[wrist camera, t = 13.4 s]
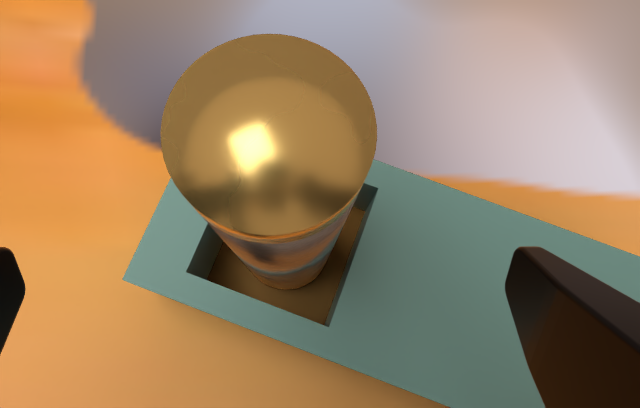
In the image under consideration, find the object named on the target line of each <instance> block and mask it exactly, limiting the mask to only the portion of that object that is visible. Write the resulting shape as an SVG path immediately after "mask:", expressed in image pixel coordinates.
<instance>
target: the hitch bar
mask: <svg viewBox="0 0 640 408" xmlns="http://www.w3.org/2000/svg"><path fill="white" fill-rule="evenodd" d="M353 207H355V208H358V209H361V210H363V211H365V213H364V216H363V218H362V221H361V224H360V227H359V230H358V232H357V235H356V238H355V241H354V244H353V246H352V249H351V252H350V255H349V257H348V260H347V263H346V266H345V269H344V271H343V274H342V277H341V280H340V282H339V285H338V288H337V291H336V294H335V296H334V299H333V302H332V305H331V308H330V310H329V313H328V316H327V319H326V321H325V324H324V325H322V324H319V323H317V322H314V321H311V320H309V319H306V318H304V317H301V316H298V315H296V314H293V313H291V312H288V311H285V310H283V309H280V308H278V307H275V306H272V305H270V304H267V303H265V302H262V301H259V300H257V299H254V298H252V297H249V296H247V295H244V294H241V293H239V292H236V291H234V290H231V289H228V288H226V287H223V286H221V285H218V284H215V283H213V282H210V281H208V280H207V278H208V276H209V273H210V271H211V269H212V266H213V264H214V262H215V259H216V257H217V255H218V253H219V250H220V248H221V246H222V243H223V240H222V239H221V238H220V236H219V235H218V234H217V233H216V232H215V231H214V230H213V229H212V228H211V226H210V225H209V224H208V223H207V222H206V221H205V220H204V219H203V217H202V216H201V215H200V214H199V213H198V212H197V211H196V210H195V209H194V207H193V206H192V205H191V204H190V203H189V202H188V201H187V200H186V199H185V197H184V196H183V195H182V194H181V192H180V191H179V190H178V188H177V187H176V185H175V184H174V182H173V180H172V178H171V179H170V181H169V183H168V185H167V187H166V189H165V191H164V193H163V195H162V198H161V200H160V202H159V204H158V206H157V208H156V210H155V212H154V214H153V216H152V218H151V221H150V223H149V225H148V227H147V229H146V231H145V233H144V235H143V237H142V239H141V241H140V243H139V246H138V248H137V250H136V252H135V254H134V256H133V258H132V260H131V262H130V264H129V266H128V268H127V271H126V273H125V275H124V277H123V279H122V280H124V281H127V282H129V283H132V284H134V285H137V286H139V287H142V288H145V289H147V290H150V291H152V292H155V293H157V294H160V295H163V296H165V297H168V298H170V299H173V300H175V301H178V302H181V303H183V304H186V305H188V306H191V307H193V308H196V309H199V310H201V311H204V312H206V313H209V314H211V315H214V316H217V317H219V318H222V319H224V320H227V321H229V322H232V323H235V324H237V325H240V326H242V327H245V328H247V329H250V330H253V331H255V332H258V333H260V334H263V335H265V336H268V337H271V338H273V339H276V340H278V341H281V342H283V343H286V344H288V345H291V346H294V347H296V348H299V349H301V350H304V351H306V352H309V353H312V354H314V355H317V356H319V357H322V358H324V359H327V360H330V361H332V362H335V363H337V364H340V365H342V366H345V367H348V368H350V369H353V370H355V371H358V372H360V373H363V374H366V375H368V376H371V377H373V378H376V379H378V380H381V381H384V382H386V383H389V384H391V385H394V386H396V387H399V388H402V389H404V390H407V391H409V392H412V393H414V394H417V395H420V396H422V397H425V398H427V399H430V400H432V401H435V402H438V403H440V404H443V405H445V406H448V407H450V408H545V405H544V403H543V401H542V398H541V396H540V394H539V391H538V389H537V387H536V385H535V382H534V380H533V377H532V375H531V372H530V370H529V368H528V365H527V362H526V359H525V356H524V353H523V349H522V346H521V343H520V340H519V336H518V333H517V330H516V326H515V323H514V320H513V317H512V313H511V310H510V307H509V304H508V300H507V297H506V293H505V280H506V277H507V273H508V270H509V266H510V263H511V260H512V256H513V253H514V251H515V250H516V249H517V248H518V247H521V246H538V247H542V248H544V249H546V250H547V251H549V252H551V253H553V254H554V255H556V256H558V257H560V258H561V259H563V260H565V261H567V262H568V263H570V264H572V265H574V266H576V267H577V268H579V269H581V270H583V271H584V272H586V273H588V274H590V275H591V276H593V277H595V278H597V279H599V280H600V281H602V282H604V283H606V284H607V285H609V286H611V287H613V288H614V289H616V290H618V291H620V292H622V293H623V294H625V295H627V296H629V297H630V298H632V299H634V300H636V301H637V302H639V303H640V257H639V256H637V255H634V254H631V253H628V252H626V251H623V250H620V249H617V248H615V247H612V246H609V245H607V244H604V243H601V242H598V241H596V240H593V239H590V238H587V237H585V236H582V235H579V234H576V233H574V232H571V231H568V230H566V229H563V228H560V227H557V226H555V225H552V224H549V223H546V222H544V221H541V220H538V219H536V218H533V217H530V216H527V215H525V214H522V213H519V212H516V211H514V210H511V209H508V208H505V207H503V206H500V205H497V204H495V203H492V202H489V201H486V200H484V199H481V198H478V197H475V196H473V195H470V194H467V193H464V192H462V191H459V190H456V189H454V188H451V187H448V186H445V185H443V184H440V183H437V182H434V181H432V180H429V179H426V178H423V177H421V176H418V175H415V174H413V173H410V172H407V171H404V170H402V169H399V168H396V167H393V166H391V165H388V164H385V163H383V162H380V161H377V160H374V159H373V162H372V165H371V167H370V170H369V172H368V174H367V177H366V179H365V181H364V183H363V185H362V187H361V190H360V192H359V194H358V196H357V198H356V200H355V202H354V204H353Z"/></svg>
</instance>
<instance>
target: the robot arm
mask: <svg viewBox="0 0 640 408" xmlns="http://www.w3.org/2000/svg"><path fill="white" fill-rule="evenodd" d="M505 293H506V297H507V300H508V304H509V307H510V310H511V313H512V317H513V320H514V323H515V326H516V330H517V333H518V336H519V340H520V343H521V346H522V349H523V353H524V356H525V359H526V362H527V365H528V368H529V370H530V372H531V375H532V377H533V380H534V382H535V385H536V387H537V389H538V391H539V394H540V396H541V398H542V401H543V403H544V405H545V408H640V303H639V302H637V301H636V300H634V299H632V298H630V297H629V296H627V295H625V294H623V293H622V292H620V291H618V290H616V289H614V288H613V287H611V286H609V285H607V284H606V283H604V282H602V281H600V280H599V279H597V278H595V277H593V276H591V275H590V274H588V273H586V272H584V271H583V270H581V269H579V268H577V267H576V266H574V265H572V264H570V263H568V262H567V261H565V260H563V259H561V258H560V257H558V256H556V255H554V254H553V253H551V252H549V251H547V250H546V249H544V248H542V247H538V246H521V247H518V248H517V249H516V250H515V251H514V253H513V256H512V260H511V263H510V266H509V270H508V273H507V277H506V280H505ZM24 295H25V283H24V280H23V277H22V275H21V272H20V270H19V267H18V264H17V262H16V259H15V257H14V254H13V252H12V251H11V250H10V249H8V248H6V247H0V354H1V352H2V349H3V347H4V345H5V342H6V340H7V337H8V335H9V332H10V330H11V328H12V325H13V323H14V320H15V318H16V316H17V313H18V311H19V308H20V306H21V303H22V301H23V299H24Z"/></svg>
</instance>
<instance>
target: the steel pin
mask: <svg viewBox="0 0 640 408" xmlns="http://www.w3.org/2000/svg"><path fill="white" fill-rule="evenodd" d="M376 141H377V125H376V118H375V113H374V109H373V106H372V102H371V100H370V97H369V95H368V93H367V91H366V89H365V87H364V85H363V84H362V82H361V81H360V79H359V78H358V76H357V75H356V74H355V73H354V72H353V70H352V69H351V68H350V67H349V66H348V65H347V64H346V63H345V62H344V61H343V60H341V59H340V58H339V57H338V56H336V55H334V54H333V53H332V52H331V51H329V50H327V49H325V48H323V47H321V46H320V45H318V44H315V43H313V42H310V41H308V40H305V39H301V38H298V37H294V36H288V35H281V34H260V35H251V36H246V37H241V38H238V39H234V40H232V41H228V42H226V43H224V44H222V45H219V46H217V47H215V48H213V49H212V50H210V51H209V52H207V53H206V54H204V55H203V56H201V57H200V58H199V59H198V60H196V61H195V62H194V63H193V64H192V65H191V66H190V67H189V68H188V69H187V70H186V71H185V72H184V73H183V75H182V76H181V77H180V79H179V80H178V81H177V83H176V84H175V86H174V88H173V90H172V91H171V93H170V96H169V98H168V101H167V103H166V106H165V109H164V113H163V117H162V125H161V147H162V152H163V157H164V161H165V164H166V167H167V170H168V172H169V174H170V176H171V178H172V180H173V182H174V184H175V185H176V187H177V188H178V190H179V191H180V192H181V194H182V195H183V196H184V197H185V199H186V200H187V201H188V202H189V203H190V204H191V205H192V206H193V207H194V209H195V210H196V211H197V212H198V213H199V214H200V215H201V216H202V217H203V219H204V220H205V221H206V222H207V223H208V224H209V225H210V226H211V228H212V229H213V230H214V231H215V232H216V233H217V234H218V235H219V236H220V238H221V239H222V240H223V241H224V242H225V243H226V244H227V245H228V246H229V248H230V249H231V250H232V251H233V252H234V253H235V254H236V255H237V256H238V258H239V259H240V260H241V261H242V262H243V263H244V264H245V265H246V267H247V268H248V269H249V270H250V271H251V272H252V273H253V274H254V275H255V276H256V278H257V279H259V280H260V281H261V282H263V283H264V284H266V285H268V286H270V287H273V288H276V289H282V290H290V289H296V288H300V287H302V286H305V285H307V284H308V283H310V282H311V281H313V280H314V279H315V278H316V277H317V276H318V275H319V274H320V272H321V271H322V270H323V268H324V266H325V264H326V262H327V260H328V258H329V255H330V253H331V251H332V249H333V247H334V245H335V243H336V241H337V238H338V236H339V234H340V232H341V230H342V228H343V226H344V224H345V221H346V219H347V217H348V215H349V213H350V211H351V209H352V207H353V204H354V202H355V200H356V198H357V196H358V194H359V192H360V190H361V187H362V185H363V183H364V181H365V179H366V177H367V174H368V172H369V170H370V167H371V165H372V162H373V158H374V154H375V150H376Z"/></svg>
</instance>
